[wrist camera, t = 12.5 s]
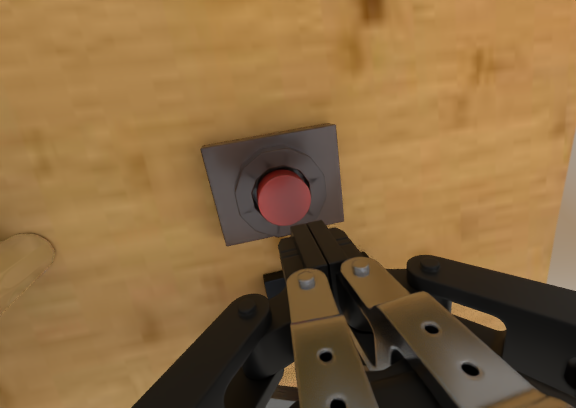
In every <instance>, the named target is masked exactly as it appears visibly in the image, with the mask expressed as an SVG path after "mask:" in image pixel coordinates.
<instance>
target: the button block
mask: <svg viewBox="0 0 576 408" xmlns="http://www.w3.org/2000/svg"><path fill="white" fill-rule="evenodd" d="M201 153H202V157H203V161H204V164H205V168H206V172H207V176H208V179H209V183H210V187H211V191H212V194H213V198H214V202H215V205H216V209H217V213H218V217H219V220H220V224H221V228H222V232H223V235H224V239H225V243H226V246H231V245H236V244H241V243H245V242H250V241H255V240H259V239H264V238H268V237H273V236H275V237H282V236H287V235H291V232H290V226H294V225H299V224H304V223H308V222H313V221H318V220H323V222H324V223H325V225H329V224H333V223H338V222H343V221H344V213H343V201H342V190H341V179H340V168H339V156H338V145H337V134H336V125H335V124H330V123H327V124H321V125H315V126H310V127H304V128H299V129H293V130H287V131H282V132H276V133H270V134H265V135H259V136H253V137H248V138H242V139H236V140H231V141H225V142H220V143H214V144H208V145H204V146H203V147H202V148H201ZM275 170H289V171H292V172H294V173H296V174H297V175H298V176H299V177H300V178H301V179H302V180H303V181H304V183H305V184H306V185H307V187H308V188H309V191H310V194H311V204H310V207H309V210H308V212H307V213H306V215H305V216H304V217H303V218H302V219H301V220H300V221H298V222H296V223H294V224H292V225H287V226H279V225H275V224H272V223H270V222H269V221H267V220H266V219H265V218H264V217H263V216H262V214H261V212H260V210H259V207H258V202H257V188H258V185H259V183H260V181H261V180H262V179H263V178H264V177H265V176H266V175H267V174H268V173H270V172H272V171H275Z"/></svg>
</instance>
